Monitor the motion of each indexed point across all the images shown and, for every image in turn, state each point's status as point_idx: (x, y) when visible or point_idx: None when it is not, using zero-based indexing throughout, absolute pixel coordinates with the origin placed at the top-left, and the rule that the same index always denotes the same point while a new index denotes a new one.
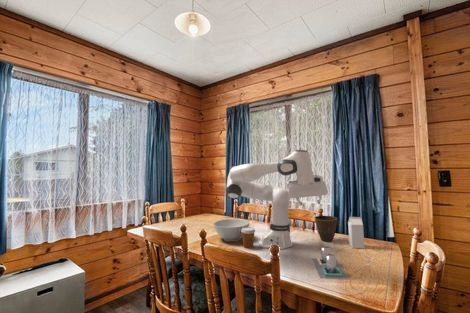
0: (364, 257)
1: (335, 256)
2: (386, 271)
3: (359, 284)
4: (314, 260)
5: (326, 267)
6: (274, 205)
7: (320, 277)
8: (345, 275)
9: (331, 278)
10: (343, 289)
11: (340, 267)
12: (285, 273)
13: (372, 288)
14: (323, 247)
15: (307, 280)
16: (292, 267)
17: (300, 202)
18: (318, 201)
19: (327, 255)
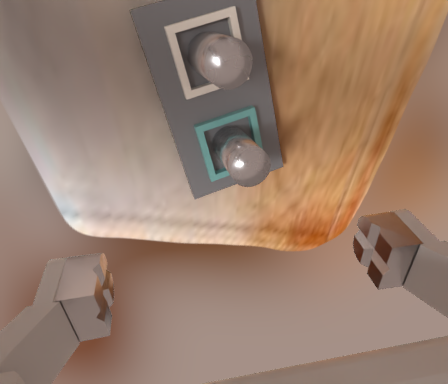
0: None
1: (269, 166)
2: (411, 17)
3: (301, 160)
4: (149, 35)
5: (217, 156)
6: None
7: (194, 194)
8: (272, 144)
9: (228, 185)
10: (255, 208)
11: (262, 77)
12: (57, 192)
13: (328, 168)
14: (217, 59)
15: (151, 205)
16: (61, 126)
17: (84, 338)
18: (390, 280)
19: (238, 169)
